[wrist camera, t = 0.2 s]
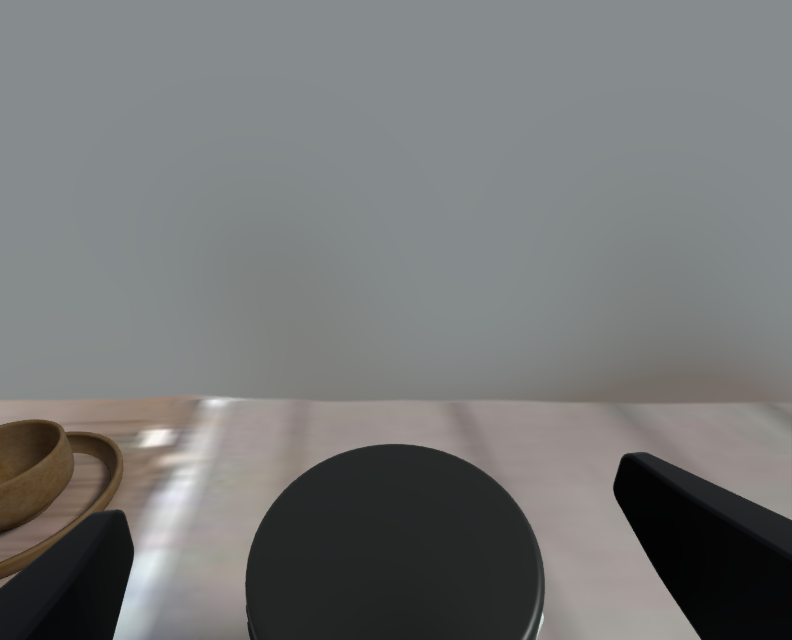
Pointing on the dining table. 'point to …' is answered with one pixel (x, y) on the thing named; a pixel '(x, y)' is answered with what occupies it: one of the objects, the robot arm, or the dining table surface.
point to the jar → (395, 553)
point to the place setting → (45, 477)
